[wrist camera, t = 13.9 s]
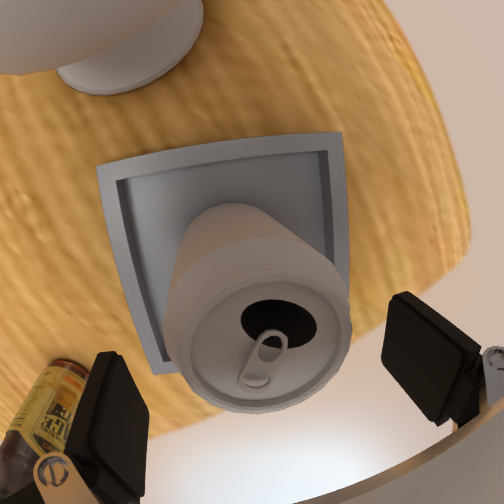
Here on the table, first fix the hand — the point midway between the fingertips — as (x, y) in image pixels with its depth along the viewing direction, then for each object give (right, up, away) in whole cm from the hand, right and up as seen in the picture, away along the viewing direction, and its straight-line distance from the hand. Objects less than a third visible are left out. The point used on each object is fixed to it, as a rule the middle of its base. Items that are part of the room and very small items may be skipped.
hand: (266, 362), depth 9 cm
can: (-2, +4, +12) cm, 12 cm away
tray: (-2, +3, +12) cm, 13 cm away
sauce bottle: (-18, -9, +14) cm, 24 cm away
